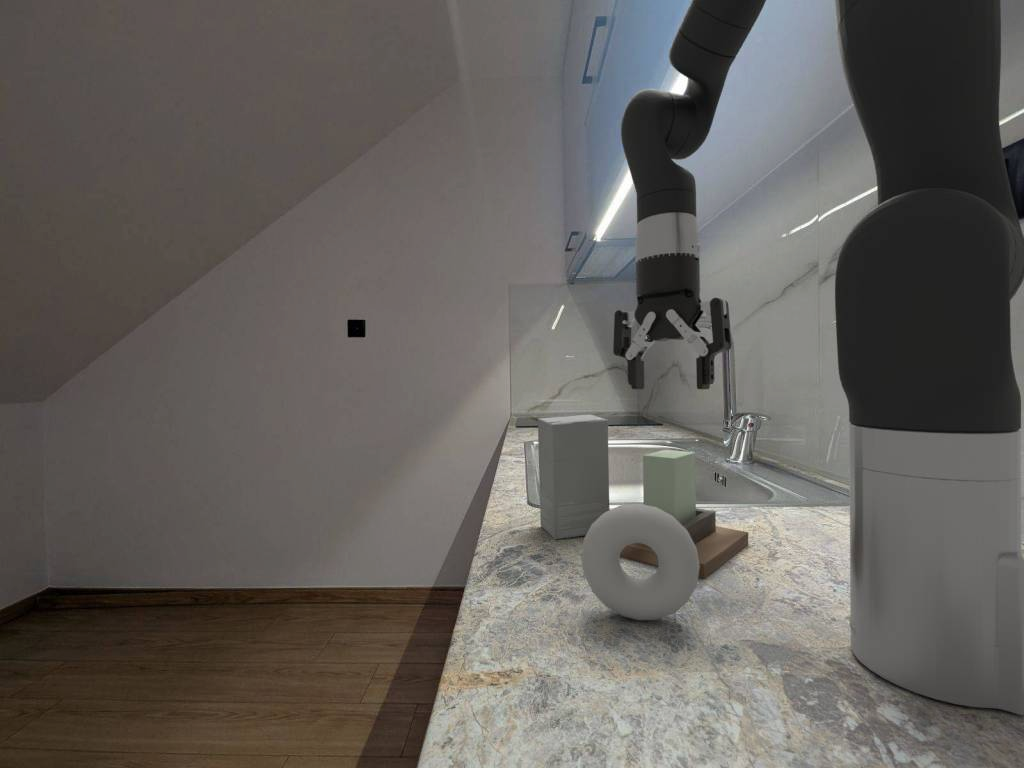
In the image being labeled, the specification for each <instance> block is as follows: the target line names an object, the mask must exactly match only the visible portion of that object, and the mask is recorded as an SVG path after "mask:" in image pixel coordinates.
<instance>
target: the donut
mask: <svg viewBox="0 0 1024 768" xmlns="http://www.w3.org/2000/svg"><path fill="white" fill-rule="evenodd" d="M632 543H641V544H645V545H647V546H649V547H650V548H652V550H653V551H654V552H655V553H656V555H657V557H658V562H659V564H658V566H657V569H656V571H655V572H654V573H653V574H652V575H651V576H648V577H646V578H637V577H633V576H631V575H630V574H628V573H627V572H625V570H624V569H623V567H622V565H621V562H620V557H621V556H620V553H621V551H622V549H623V548H625V547H626V546H627V545H630V544H632ZM581 563H582V570H583V576H584V577H585V579H586V582H587V584H588V586H589V589H591V592H592V593H593V594H594V596H595V597H596V598H597V599H598V600H599V601H600V602H601V603H602V604H603V605H604V606H605V607H607V608H608V609H610V610H612V611H613V612H615V613H616V614H618V615H620V616H621V617H626V618H629V619H633V620H636V621H657V620H660V619H663V618H665V617H669V616H672V615H673V614H675V613H677V612H678V611H679V610H681V609H682V607H683V606H685V605H686V604H687V603H688V602H689V601H690V599H691V597H692V595H693V594H694V593H695V590H696V589H697V586H698V580H699V577H698V574H699V568H700V565H699V559H698V553H697V548H696V546H695V544H694V542H693V540H692V538H691V537H690V535H689V533H688V531H687V530H686V529H685V528H684V527H683V526H682V525H681V524H680V523H679V522H678V521H677V520H676V519H675V518H674V517H673V516H672V515H670V514H668V513H666V512H664V511H662V510H661V509H659V508H657V507H653V506H648V505H644V504H643V503H630V504H620V505H618V506H616V507H613V508H611V509H610V510H609V511H607V512H605V513H603V514H602V515H601V516H600V517H599V518H598V519H597V520H596V521H595V522H594V523H593V524H592V525H591V527H590V529H589V531H588V533H587V535H585V536H584V538H583V544H582V551H581Z"/></svg>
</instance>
